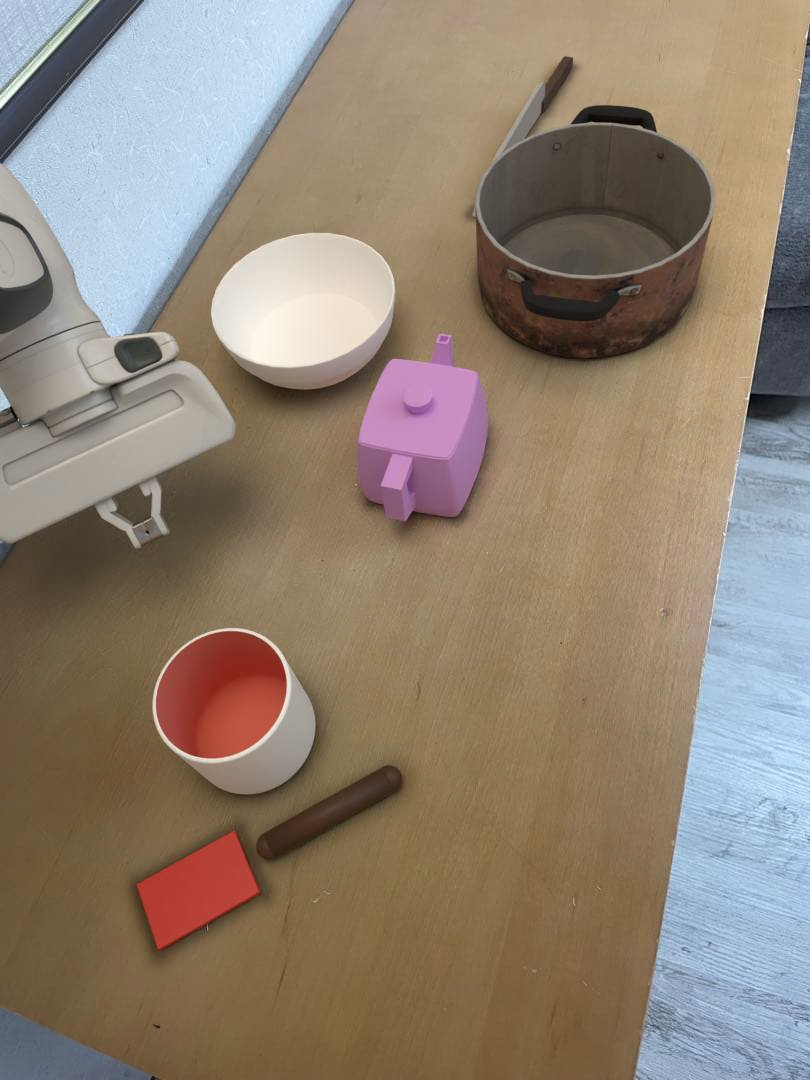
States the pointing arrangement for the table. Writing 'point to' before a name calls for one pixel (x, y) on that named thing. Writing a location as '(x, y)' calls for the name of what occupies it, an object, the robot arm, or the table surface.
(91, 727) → the table surface
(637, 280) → the saucepan
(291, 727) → the cup
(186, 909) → the spatula
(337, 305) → the bowl
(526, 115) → the kitchen knife
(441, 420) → the teapot
